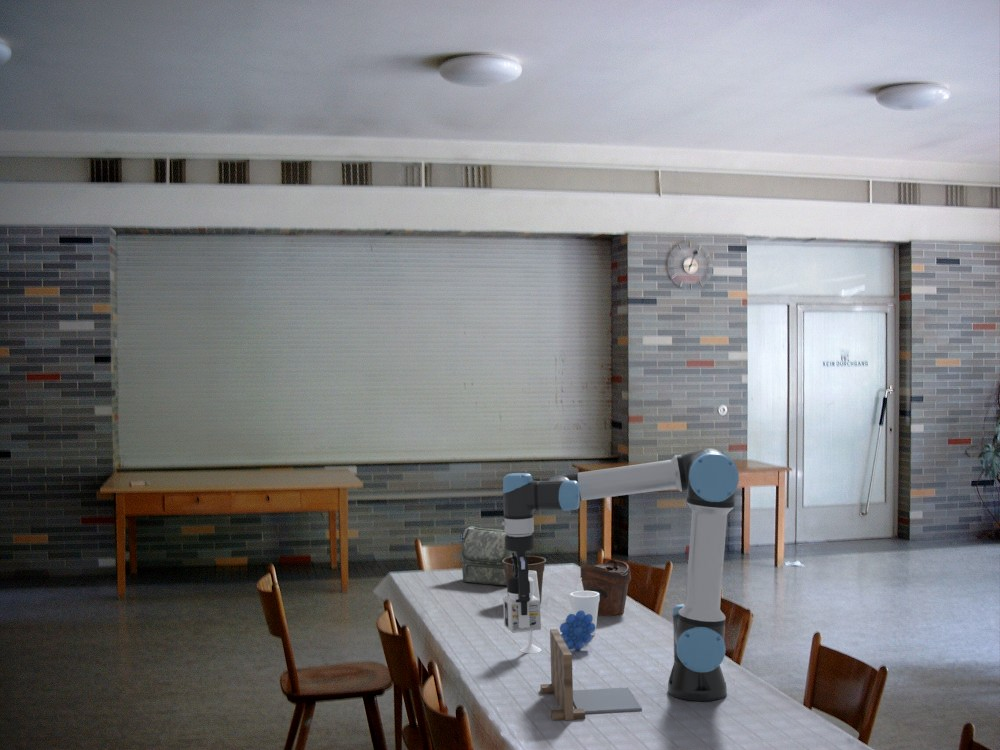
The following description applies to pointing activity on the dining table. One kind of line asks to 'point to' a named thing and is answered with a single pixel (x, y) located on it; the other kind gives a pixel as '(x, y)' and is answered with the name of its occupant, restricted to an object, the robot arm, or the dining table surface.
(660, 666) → the dining table surface
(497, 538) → the lunch bag
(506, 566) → the plant pot
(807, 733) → the dining table surface
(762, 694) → the dining table surface
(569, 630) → the grapes
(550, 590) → the dining table surface
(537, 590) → the champagne flute
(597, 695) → the mat
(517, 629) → the container
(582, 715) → the screen
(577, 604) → the foam cup
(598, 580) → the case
